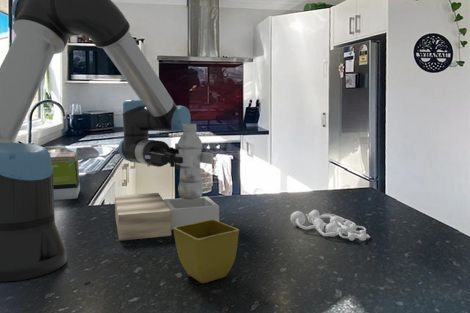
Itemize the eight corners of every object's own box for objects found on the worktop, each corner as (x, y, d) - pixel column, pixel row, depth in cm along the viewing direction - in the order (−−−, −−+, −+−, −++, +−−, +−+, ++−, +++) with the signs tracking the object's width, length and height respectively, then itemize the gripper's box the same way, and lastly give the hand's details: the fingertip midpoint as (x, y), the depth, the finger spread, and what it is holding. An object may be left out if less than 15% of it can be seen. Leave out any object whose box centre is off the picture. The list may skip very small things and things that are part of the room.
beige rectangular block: (171, 235, 98) (170, 210, 97) (119, 240, 94) (118, 215, 93) (158, 213, 119) (158, 192, 118) (115, 216, 115) (114, 195, 114)
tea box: (51, 192, 150) (48, 151, 148) (80, 190, 153) (78, 150, 151) (45, 201, 135) (42, 156, 134) (78, 198, 138) (75, 155, 137)
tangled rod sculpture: (384, 242, 97) (386, 225, 97) (343, 249, 89) (345, 230, 88) (323, 221, 113) (324, 206, 112) (283, 225, 105) (285, 209, 104)
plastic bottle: (173, 200, 109) (171, 124, 106) (188, 195, 115) (186, 123, 112) (194, 203, 106) (192, 124, 103) (207, 197, 112) (206, 123, 109)
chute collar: (219, 225, 106) (219, 206, 106) (171, 229, 103) (170, 209, 102) (207, 213, 118) (207, 196, 118) (164, 217, 114) (163, 199, 114)
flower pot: (198, 291, 68) (197, 238, 67) (173, 274, 75) (172, 226, 74) (240, 278, 73) (240, 229, 72) (213, 263, 80) (213, 218, 79)
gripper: (179, 162, 129) (229, 170, 112) (124, 168, 116) (171, 179, 99) (179, 138, 128) (229, 142, 111) (123, 142, 115) (171, 148, 98)
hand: (202, 160), depth 105 cm, fingers closed on plastic bottle, 6 cm apart
